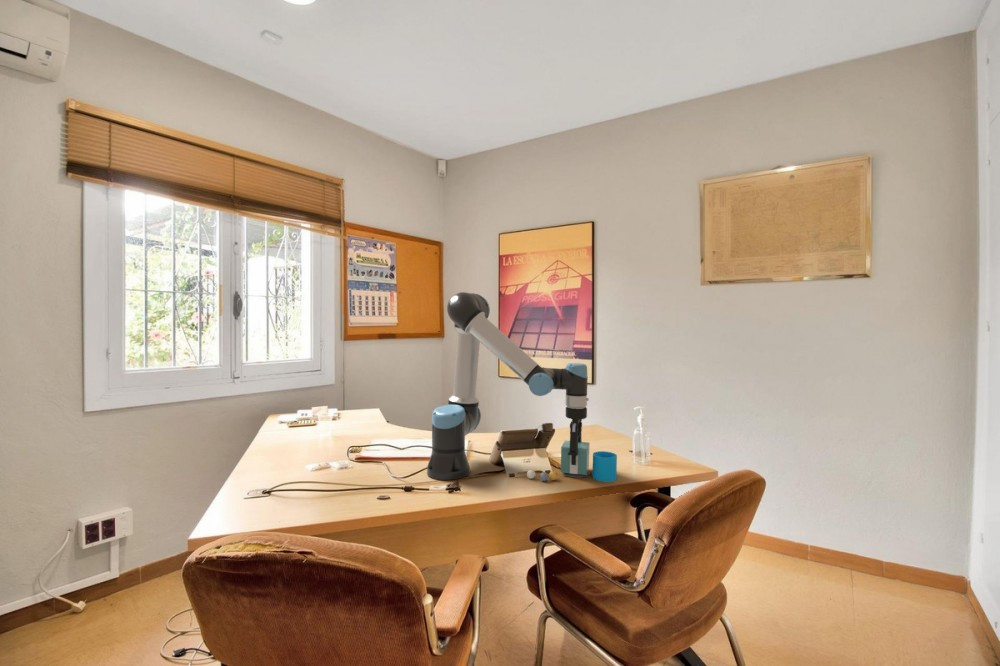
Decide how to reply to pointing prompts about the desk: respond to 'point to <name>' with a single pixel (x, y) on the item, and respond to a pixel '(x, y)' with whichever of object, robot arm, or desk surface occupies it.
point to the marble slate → (544, 476)
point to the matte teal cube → (582, 457)
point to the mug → (604, 466)
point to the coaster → (576, 475)
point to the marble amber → (553, 475)
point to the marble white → (531, 474)
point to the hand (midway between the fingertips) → (575, 468)
